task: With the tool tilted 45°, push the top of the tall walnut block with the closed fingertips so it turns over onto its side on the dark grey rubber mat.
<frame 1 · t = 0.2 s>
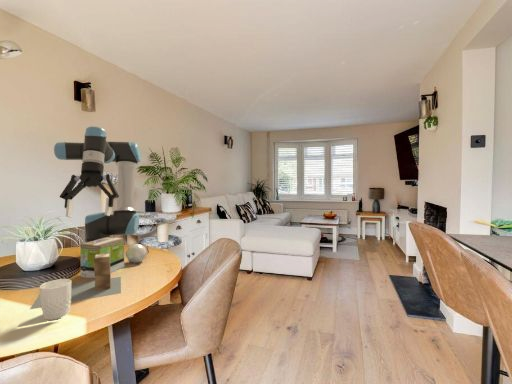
hand: (88, 216, 102), 28 cm above the table, tool tilted 20°, fingers open, 13 cm apart
white cup: (57, 315, 82), on the table
tea box: (103, 273, 119), on the table
walnut block: (103, 287, 102), point 1 cm above the table, touching rubber mat
rubber mat: (81, 292, 99), on the table
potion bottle: (137, 261, 137), on the table
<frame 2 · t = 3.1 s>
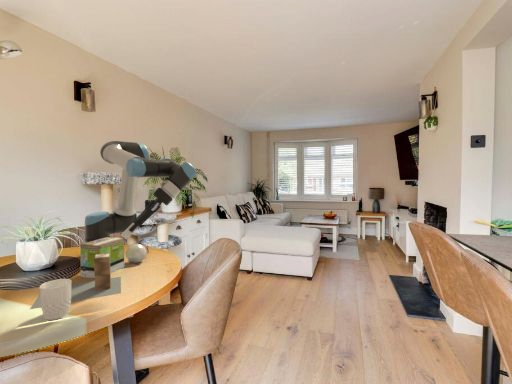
hand: (123, 237, 104), 19 cm above the table, tool tilted 45°, fingers closed
nothing on the table moved.
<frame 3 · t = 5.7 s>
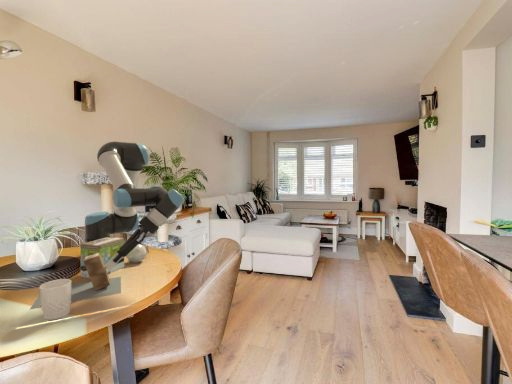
hand: (107, 267, 102), 8 cm above the table, tool tilted 45°, fingers closed
walnut block: (102, 285, 102), point 1 cm above the table, tilted 16°, touching rubber mat
everything else where it was.
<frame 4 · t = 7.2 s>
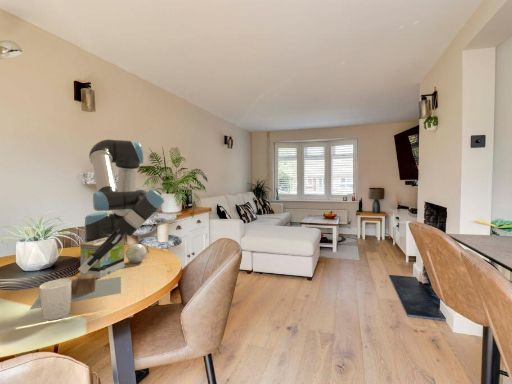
hand: (81, 271, 98), 8 cm above the table, tool tilted 45°, fingers closed
walnut block: (95, 282, 101), point 3 cm above the table, tilted 90°, touching rubber mat
everything else where it was.
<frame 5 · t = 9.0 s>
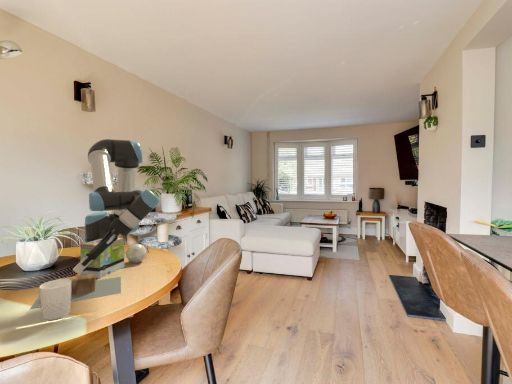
hand: (76, 271, 98), 8 cm above the table, tool tilted 45°, fingers closed
nothing on the table moved.
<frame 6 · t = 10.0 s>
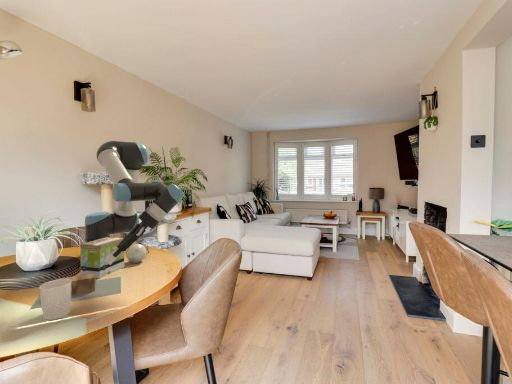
hand: (107, 262, 102), 10 cm above the table, tool tilted 45°, fingers closed
nothing on the table moved.
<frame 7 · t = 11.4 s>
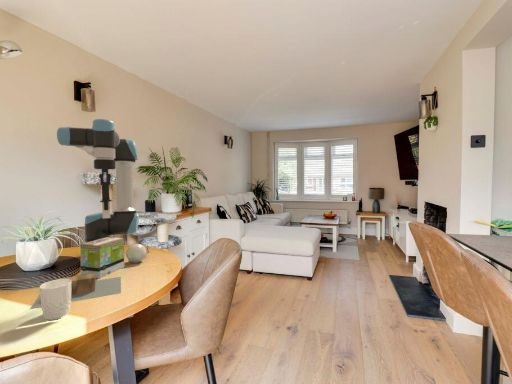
hand: (106, 217, 108), 26 cm above the table, tool pointing down, fingers closed
nothing on the table moved.
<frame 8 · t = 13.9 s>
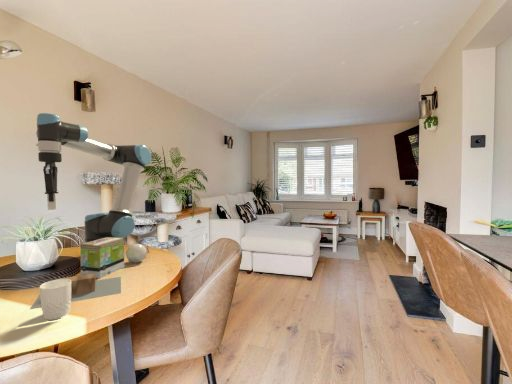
hand: (52, 209, 111), 29 cm above the table, tool pointing down, fingers closed
nothing on the table moved.
at the end: walnut block tilted 90°; walnut block inside the target area (4.5 cm from its centre), point 3.1 cm above the table; the gripper is holding nothing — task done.
